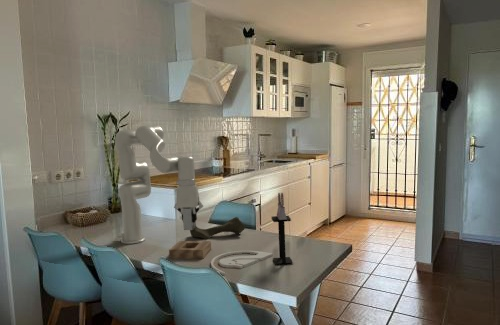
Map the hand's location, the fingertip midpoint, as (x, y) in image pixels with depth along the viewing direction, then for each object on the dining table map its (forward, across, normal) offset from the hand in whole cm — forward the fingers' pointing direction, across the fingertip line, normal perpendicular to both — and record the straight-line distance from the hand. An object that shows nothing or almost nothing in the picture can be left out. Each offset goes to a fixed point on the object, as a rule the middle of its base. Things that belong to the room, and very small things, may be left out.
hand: (189, 221), depth 184 cm
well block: (+15, 0, 0) cm, 15 cm away
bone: (+16, +5, +31) cm, 35 cm away
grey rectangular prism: (+3, 0, 0) cm, 3 cm away
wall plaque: (+16, +23, -9) cm, 29 cm away
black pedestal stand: (+16, +44, -10) cm, 48 cm away
